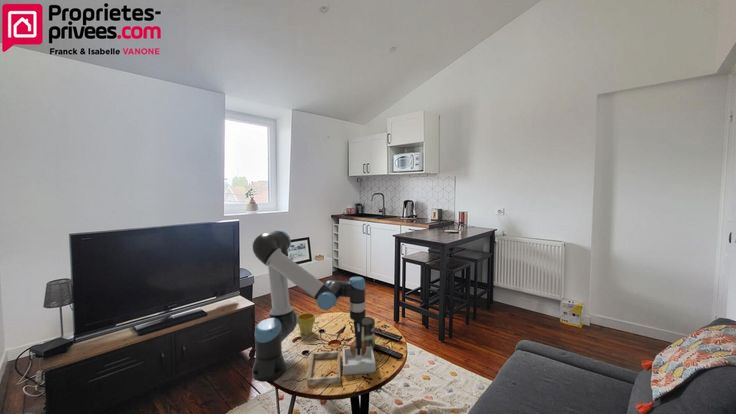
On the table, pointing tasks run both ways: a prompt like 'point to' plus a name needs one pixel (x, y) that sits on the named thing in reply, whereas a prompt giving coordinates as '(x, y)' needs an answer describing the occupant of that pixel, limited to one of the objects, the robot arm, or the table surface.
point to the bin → (358, 362)
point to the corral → (323, 379)
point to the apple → (353, 350)
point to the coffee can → (368, 331)
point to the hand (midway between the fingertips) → (358, 355)
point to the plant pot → (306, 323)
